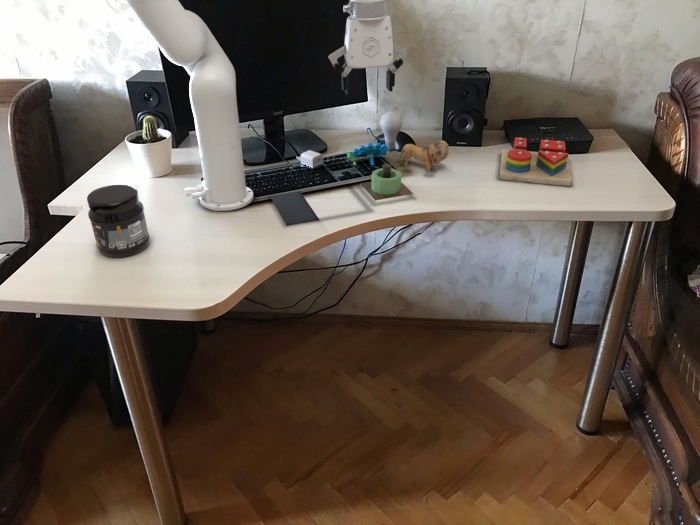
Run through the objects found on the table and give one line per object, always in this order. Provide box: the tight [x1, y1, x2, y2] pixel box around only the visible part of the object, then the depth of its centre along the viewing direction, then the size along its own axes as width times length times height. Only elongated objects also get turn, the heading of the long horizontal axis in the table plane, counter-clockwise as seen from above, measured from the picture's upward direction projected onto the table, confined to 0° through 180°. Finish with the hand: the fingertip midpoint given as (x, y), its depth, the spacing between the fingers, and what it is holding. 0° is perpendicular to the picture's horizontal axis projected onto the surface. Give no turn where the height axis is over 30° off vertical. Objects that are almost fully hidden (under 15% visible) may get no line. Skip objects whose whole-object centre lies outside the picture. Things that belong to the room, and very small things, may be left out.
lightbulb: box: [379, 111, 403, 151], centre depth 165 cm, size 6×6×11 cm
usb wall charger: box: [295, 149, 324, 169], centre depth 157 cm, size 4×7×4 cm, turn 49°
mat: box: [269, 190, 320, 226], centre depth 140 cm, size 20×15×1 cm
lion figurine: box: [395, 140, 450, 172], centre depth 154 cm, size 15×5×9 cm, turn 67°
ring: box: [370, 167, 402, 195], centre depth 143 cm, size 7×7×4 cm
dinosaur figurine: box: [346, 142, 390, 166], centre depth 157 cm, size 11×6×10 cm
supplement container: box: [86, 183, 151, 258], centre depth 121 cm, size 10×10×12 cm
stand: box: [359, 163, 414, 201], centre depth 143 cm, size 10×10×7 cm
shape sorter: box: [498, 136, 573, 187], centre depth 155 cm, size 18×17×6 cm
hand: (368, 91), depth 133 cm, fingers open, 9 cm apart
